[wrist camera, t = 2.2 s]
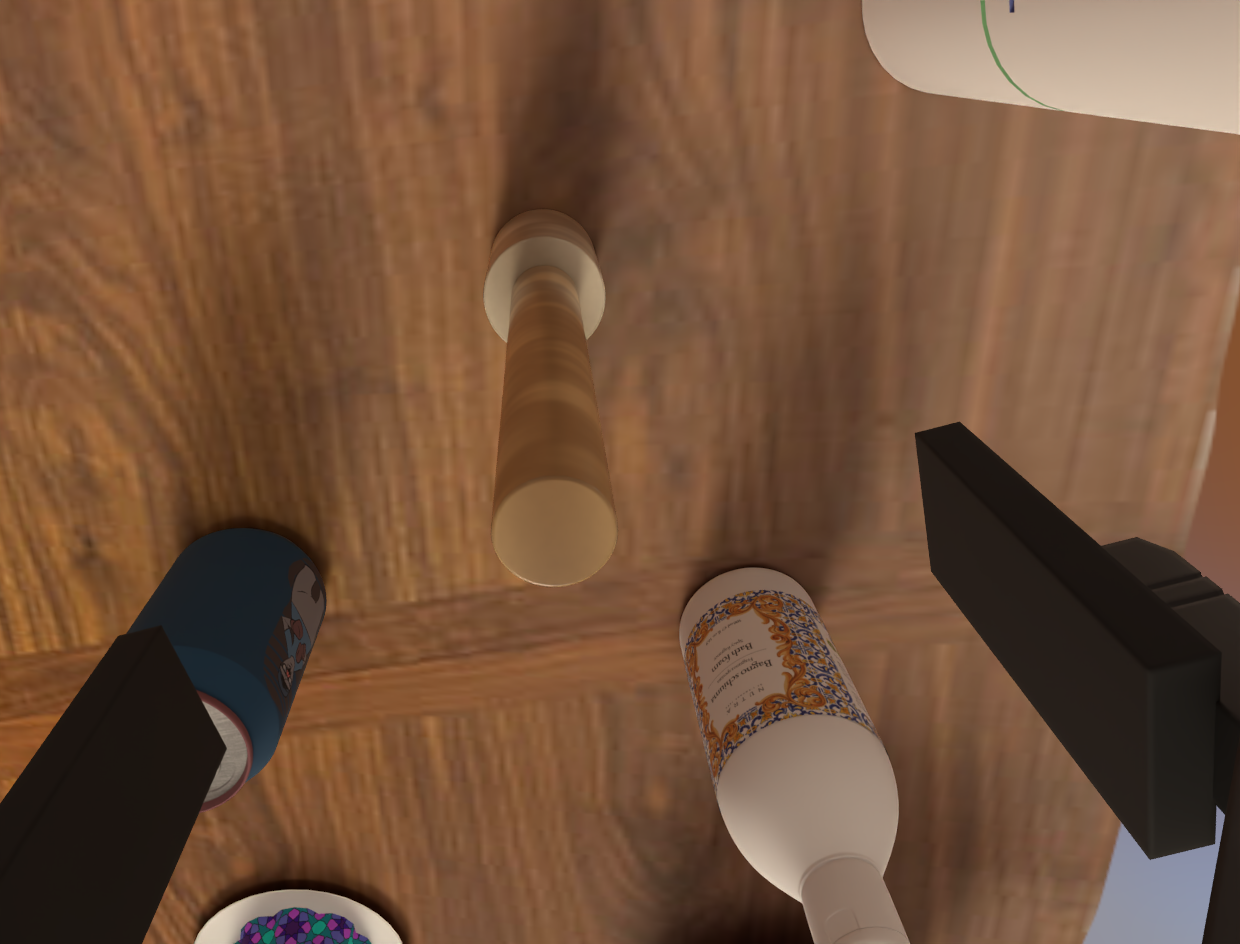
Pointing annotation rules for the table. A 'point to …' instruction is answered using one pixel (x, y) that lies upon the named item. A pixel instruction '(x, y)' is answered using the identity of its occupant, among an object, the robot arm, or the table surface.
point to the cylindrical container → (1070, 55)
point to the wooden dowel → (549, 403)
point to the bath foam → (793, 753)
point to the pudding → (297, 921)
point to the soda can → (241, 638)
